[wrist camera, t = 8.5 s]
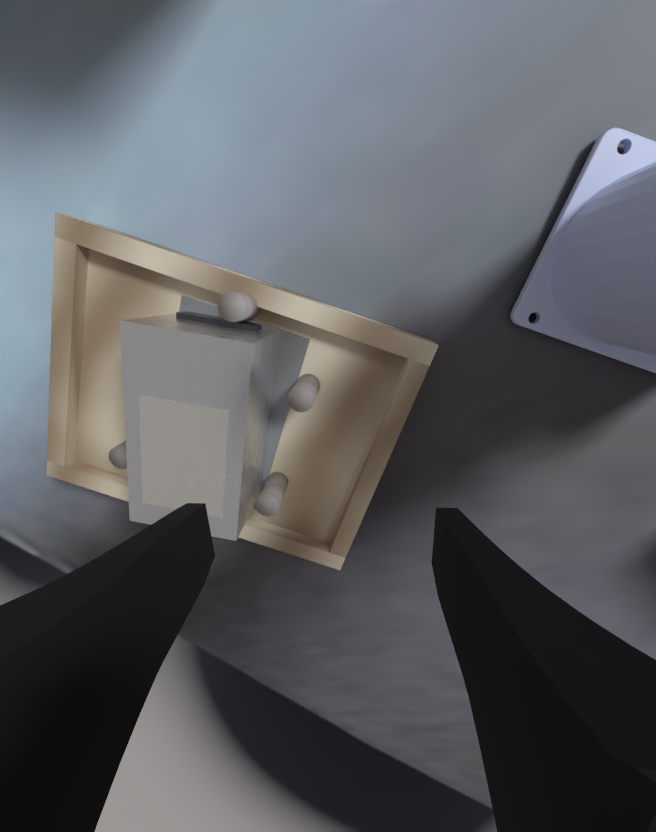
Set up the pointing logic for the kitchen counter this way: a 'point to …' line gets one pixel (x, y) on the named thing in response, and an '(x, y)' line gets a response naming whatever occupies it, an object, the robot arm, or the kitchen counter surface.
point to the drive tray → (292, 392)
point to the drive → (196, 415)
